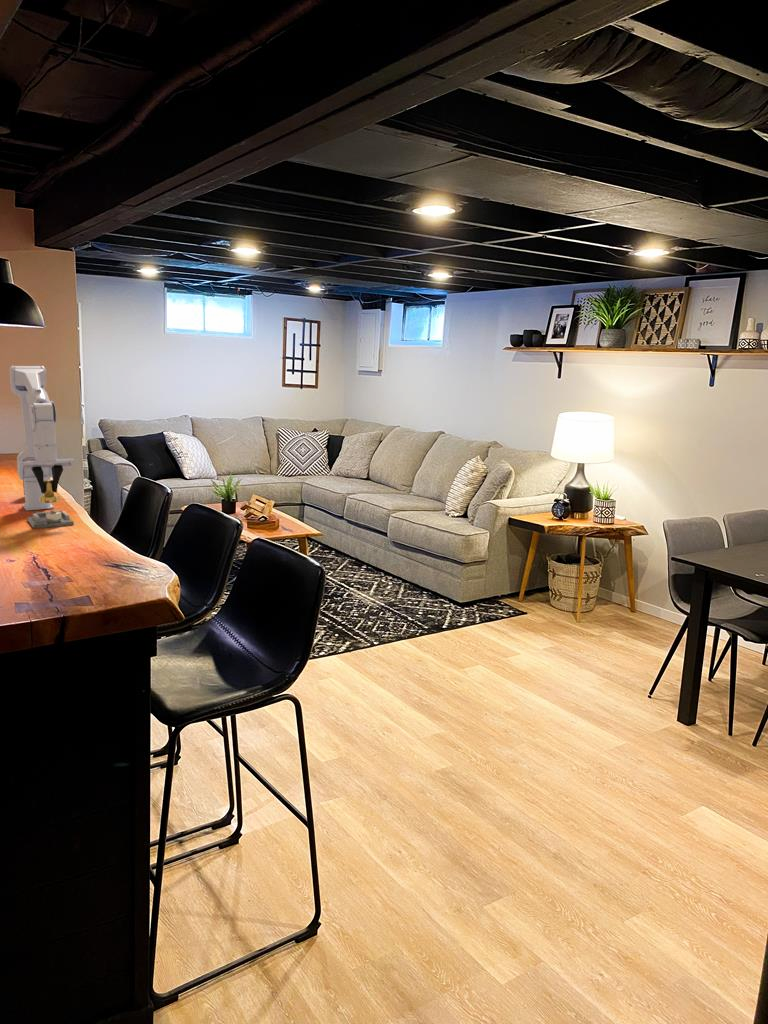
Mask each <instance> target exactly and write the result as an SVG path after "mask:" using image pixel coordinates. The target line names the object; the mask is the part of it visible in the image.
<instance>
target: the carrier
mask: <svg viewBox="0 0 768 1024" xmlns="http://www.w3.org/2000/svg"><path fill="white" fill-rule="evenodd" d="M26 519H27V520H26V521H27V522H28V523H29V525H31V527H32V528H33V530H35V529H36V530H37V529H46V528H56V527H66V526H74V520H73V519H71V517H70V514H69V513H68V512H67V511H66V510H50V511H41V512H40V511H39V512H35V513H32V516H27V518H26Z"/></svg>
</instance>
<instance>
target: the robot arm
mask: <svg viewBox="0 0 768 1024" xmlns="http://www.w3.org/2000/svg"><path fill="white" fill-rule="evenodd" d="M8 370H9V371H8V372H9V373H8V374H9V376H8V377H9V383H10V390H11V393H12V394H14V395H16V396H17V397H18V399H19V401H20V408H21V416H22V417H21V418H22V426H23V434H24V444H25V445H24V446H25V449H23V450H22V451H21V452H20V453H18V455H17V457H16V461H17V462H16V467H17V468H16V469H17V476H18V478H19V479H20V480H21V481H22V482H23V481H24V487H23V492H24V491H25V495H24V500H25V503H22V507H23V509H24V510H25V511H38V510H39V511H40V510H47V509H51V510H52V509H54V508H55V506H54V505H53V503H42V502H40V499H39V497H41V496H42V495H44V493H45V488H44V480H51V479H52V480H53V486H54V493H58V487H59V483H60V478H61V476H62V473H63V471H64V468H63V467H75V459H74V458H58V451H57V438H56V437H57V435H56V422H57V409H56V405H55V402H54V401H53V400H50V398H49V394H48V392H47V390H46V386H47V381H48V379H47V370H46V367H44V365H11V366H10V367H9V369H8Z"/></svg>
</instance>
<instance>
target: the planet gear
mask: <svg viewBox="0 0 768 1024" xmlns="http://www.w3.org/2000/svg"><path fill="white" fill-rule="evenodd" d="M44 488H45V493H44V495H42V496H41V497H39V499H40V502H42V503H51V504H53V503H58V502H60V495H57V494H55V492H54V486H53V479H50V480H44Z"/></svg>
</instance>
